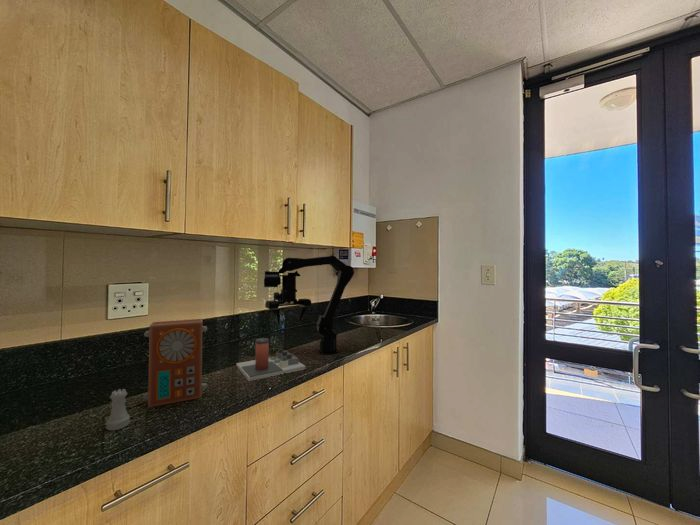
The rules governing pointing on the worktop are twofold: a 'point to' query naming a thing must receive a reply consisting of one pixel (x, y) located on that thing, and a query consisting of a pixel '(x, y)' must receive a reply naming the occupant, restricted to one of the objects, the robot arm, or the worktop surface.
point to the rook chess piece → (118, 411)
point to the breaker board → (271, 366)
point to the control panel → (175, 361)
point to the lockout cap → (262, 354)
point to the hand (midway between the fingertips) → (288, 323)
